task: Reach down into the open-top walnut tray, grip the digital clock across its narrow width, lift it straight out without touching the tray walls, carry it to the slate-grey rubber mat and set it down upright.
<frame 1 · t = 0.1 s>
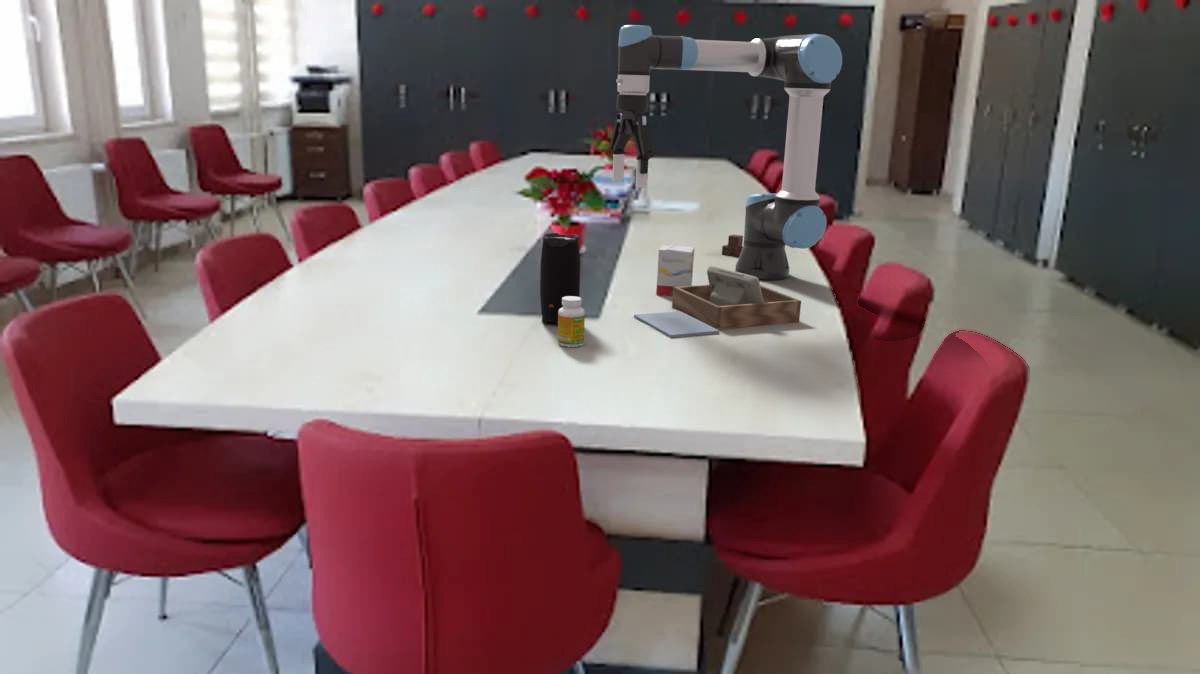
hand: (629, 184, 226), 28 cm above the table, fingers open, 13 cm apart
digital clock: (734, 315, 220), resting in walnut tray
supplement bottle: (570, 345, 192), on the table
portable speaker: (559, 323, 208), on the table
walnut tray: (734, 314, 220), on the table
slate mat: (675, 325, 209), on the table
stack of crates: (735, 257, 294), on the table
ink box: (674, 293, 240), on the table
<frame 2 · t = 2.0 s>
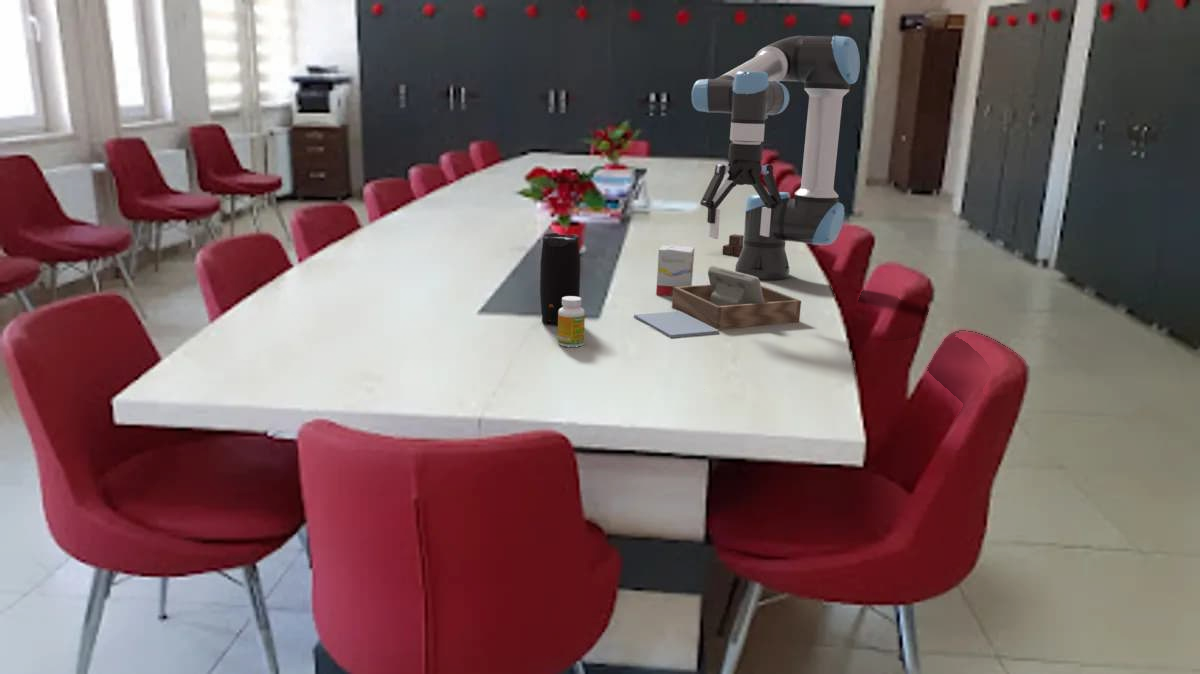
hand: (739, 236, 214), 18 cm above the table, fingers open, 13 cm apart
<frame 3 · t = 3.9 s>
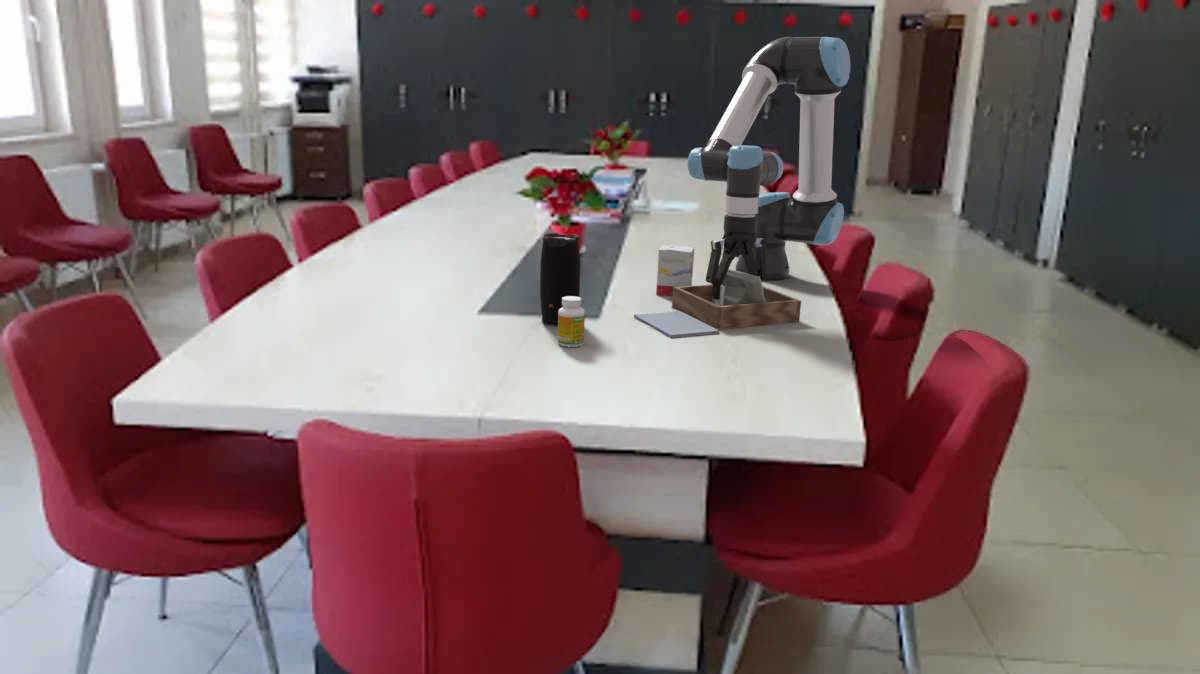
hand: (733, 311, 219), 1 cm above the table, fingers closed on digital clock, 8 cm apart
digital clock: (736, 315, 220), resting in walnut tray, touching gripper
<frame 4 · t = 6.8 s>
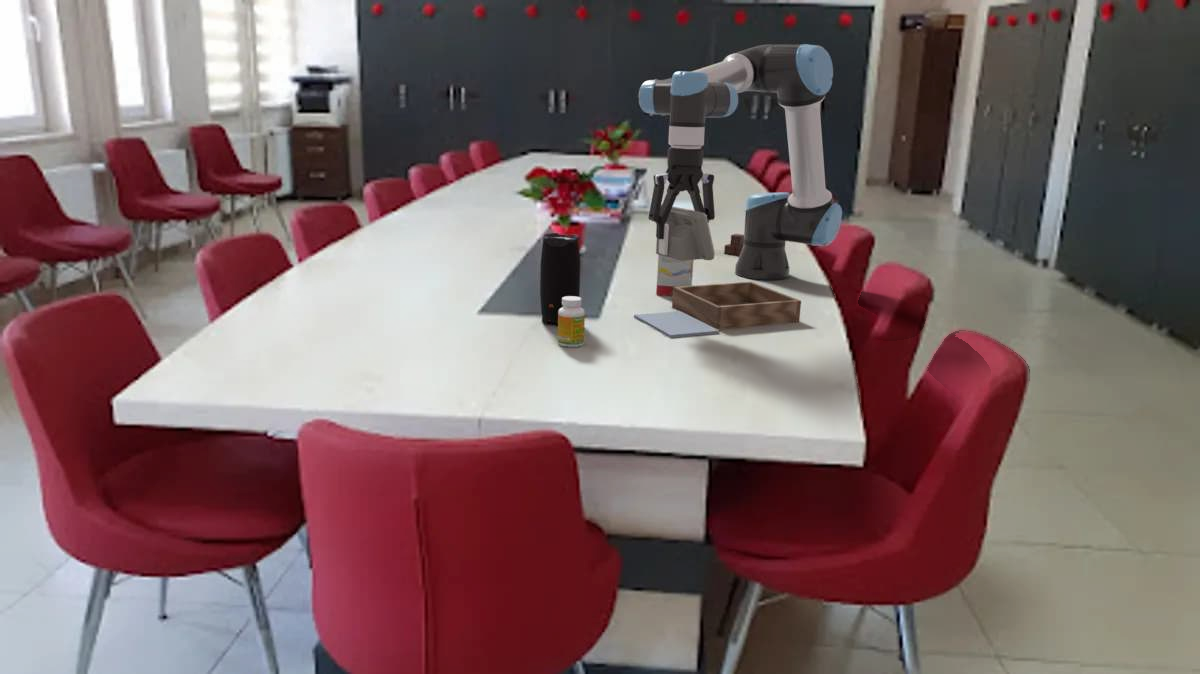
hand: (679, 252, 204), 16 cm above the table, fingers closed on digital clock, 8 cm apart
digital clock: (683, 257, 205), point 15 cm above the table, touching gripper
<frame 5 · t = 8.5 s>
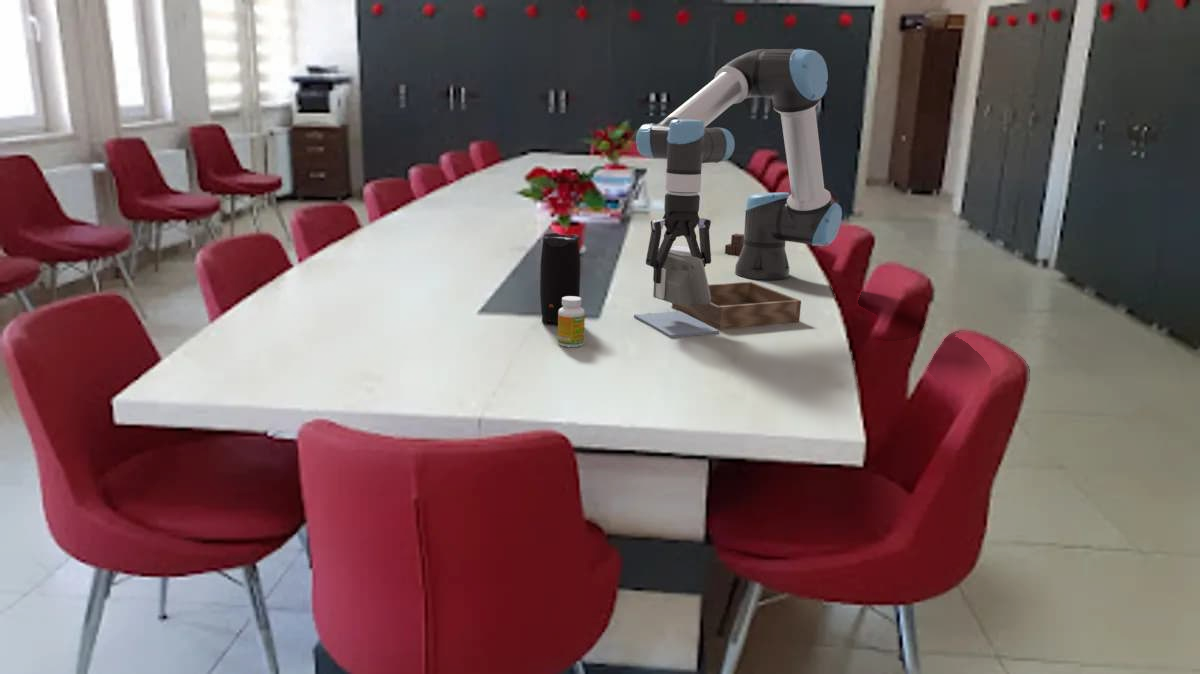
hand: (676, 296, 207), 7 cm above the table, fingers closed on digital clock, 8 cm apart
digital clock: (679, 300, 207), point 6 cm above the table, touching gripper
when the fingers open (3 cm above the table, at t = 9.6 s): digital clock drops 2 cm, resting on slate mat.
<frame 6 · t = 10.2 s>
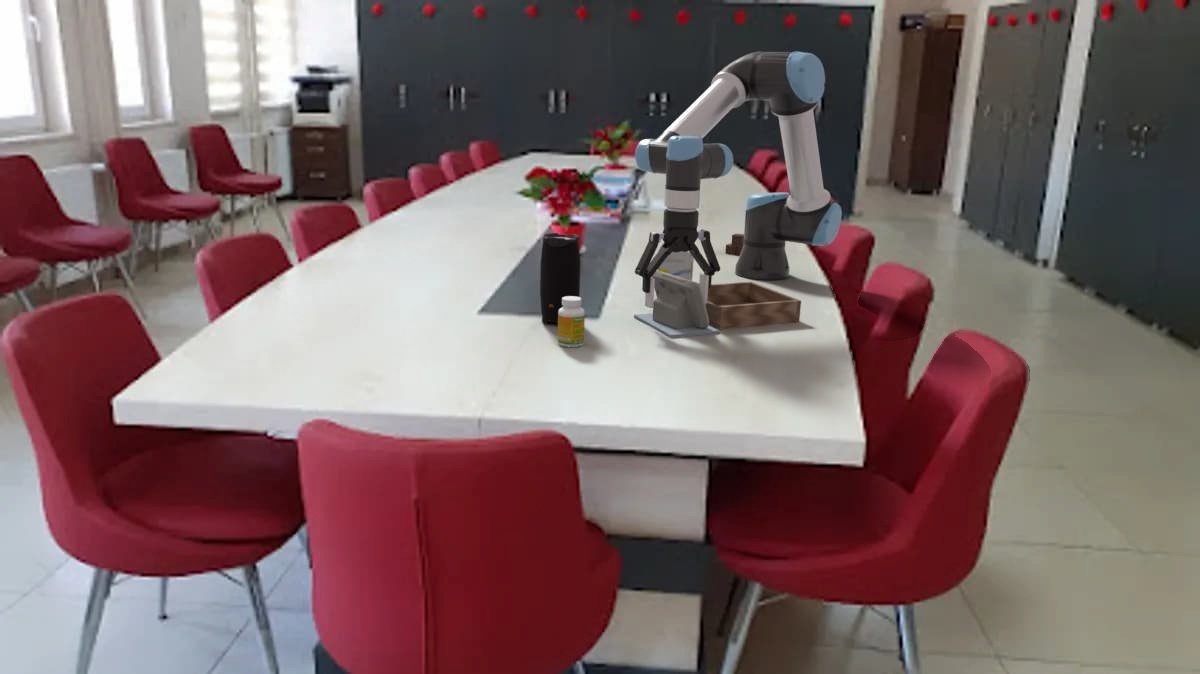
hand: (676, 304, 207), 5 cm above the table, fingers open, 13 cm apart
digital clock: (678, 323, 209), resting on slate mat
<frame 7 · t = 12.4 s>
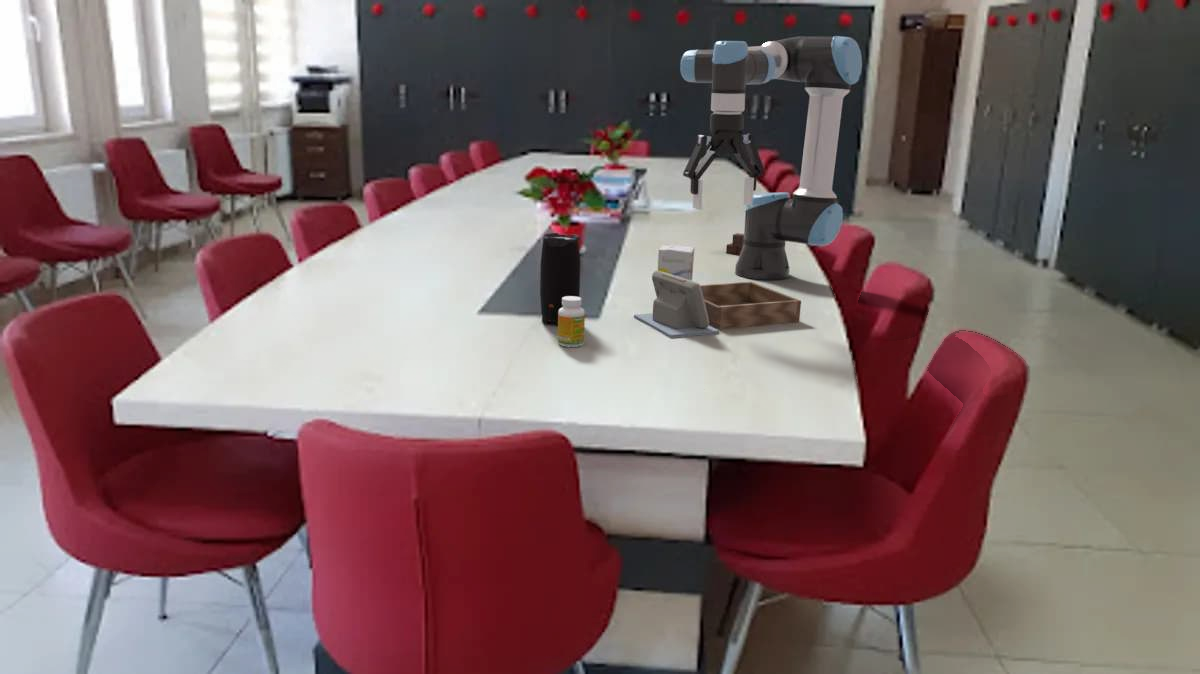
hand: (722, 206, 216), 25 cm above the table, fingers open, 13 cm apart
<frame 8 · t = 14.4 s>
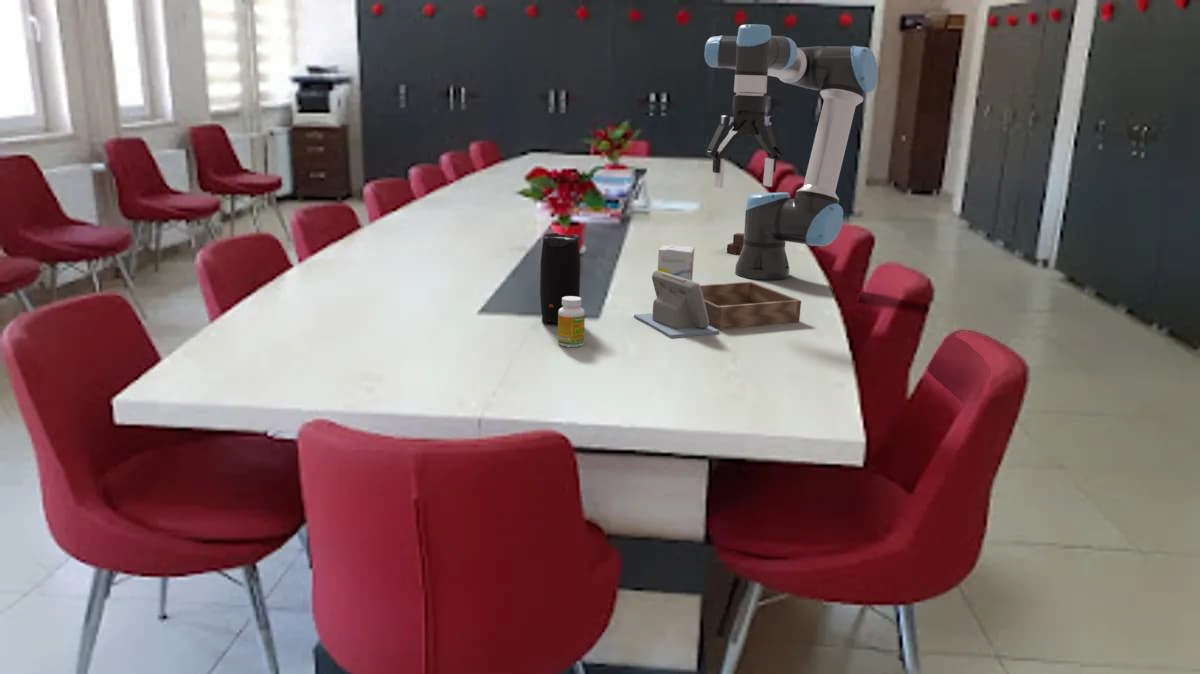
hand: (743, 186, 222), 29 cm above the table, fingers open, 13 cm apart
at the end: digital clock inside the target area on the slate mat (0.7 cm from its centre), point 0.4 cm above the slate mat's base; digital clock tilted 0°; the gripper is holding nothing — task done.
